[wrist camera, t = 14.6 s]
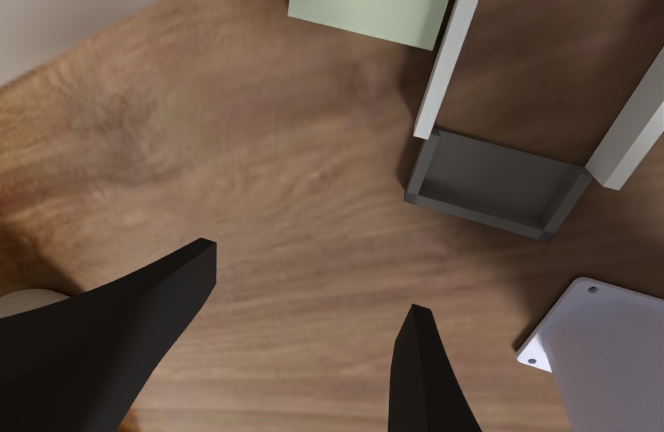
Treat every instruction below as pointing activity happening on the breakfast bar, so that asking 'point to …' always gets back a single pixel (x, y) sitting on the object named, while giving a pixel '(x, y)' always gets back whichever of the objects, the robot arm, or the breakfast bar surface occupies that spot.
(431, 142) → the tray
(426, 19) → the pad
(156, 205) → the breakfast bar surface
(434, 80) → the white bars
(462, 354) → the breakfast bar surface
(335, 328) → the breakfast bar surface
